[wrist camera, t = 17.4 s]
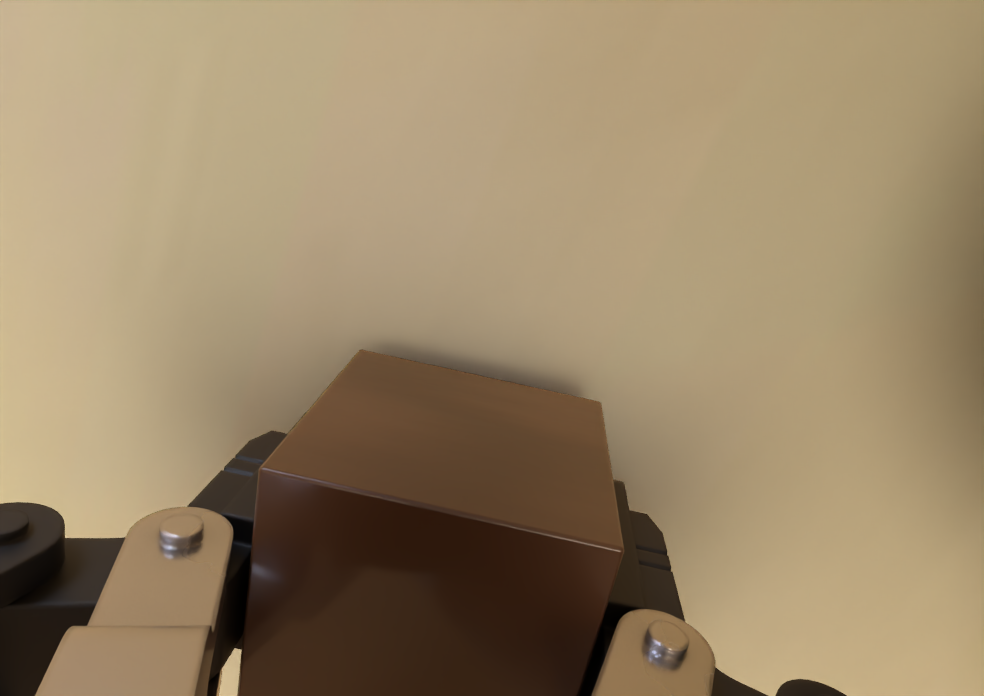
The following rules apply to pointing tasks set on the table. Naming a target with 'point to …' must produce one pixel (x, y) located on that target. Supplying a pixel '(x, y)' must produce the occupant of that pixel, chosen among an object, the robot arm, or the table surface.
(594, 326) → the table surface
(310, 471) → the block
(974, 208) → the table surface
